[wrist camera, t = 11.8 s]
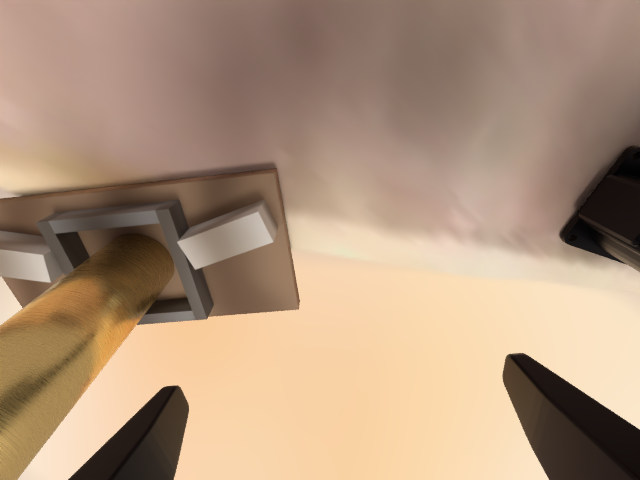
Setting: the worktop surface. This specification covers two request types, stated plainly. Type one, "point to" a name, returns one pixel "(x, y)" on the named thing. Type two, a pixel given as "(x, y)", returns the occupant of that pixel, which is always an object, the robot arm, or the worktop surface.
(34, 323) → the olive gold cylinder
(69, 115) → the worktop surface
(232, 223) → the shaft rig
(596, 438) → the robot arm
